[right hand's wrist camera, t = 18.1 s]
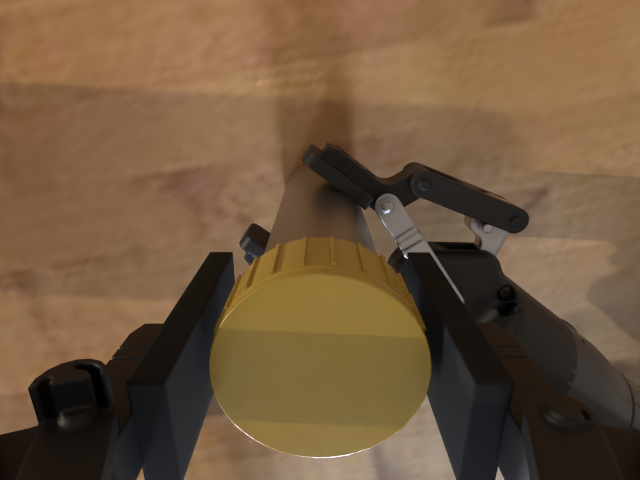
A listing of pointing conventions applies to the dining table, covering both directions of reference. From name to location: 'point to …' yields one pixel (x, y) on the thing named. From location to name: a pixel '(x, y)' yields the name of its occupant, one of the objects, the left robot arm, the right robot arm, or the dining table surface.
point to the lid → (320, 350)
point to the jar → (317, 212)
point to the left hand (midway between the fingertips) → (276, 195)
